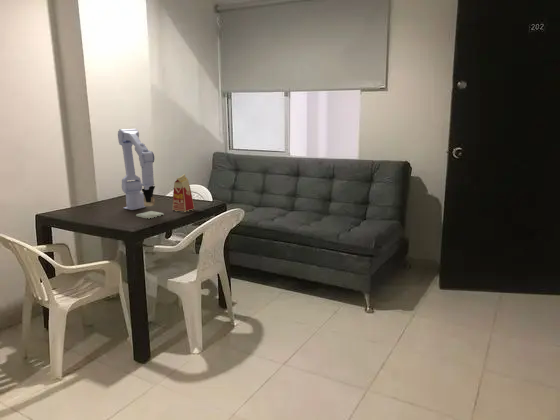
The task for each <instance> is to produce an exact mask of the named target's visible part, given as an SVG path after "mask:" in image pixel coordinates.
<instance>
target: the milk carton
mask: <svg viewBox="0 0 560 420" xmlns="http://www.w3.org/2000/svg"><path fill="white" fill-rule="evenodd" d="M172 192H173V194H172V211H173V210H175V211H174V212H177V211H184V212H183V213H187V212H186V211H188V212H190V211H189V210H192V209H195V205H194V199H193V193H192V190H191V186H190V182H189V179H188V178H187V177H186V173H184V174H182V175H181V176H179V177H177V178H176V181H174V183H173V191H172ZM192 211H193V210H192Z"/></svg>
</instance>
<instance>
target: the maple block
mask: <svg viewBox="0 0 560 420" xmlns="http://www.w3.org/2000/svg"><path fill="white" fill-rule="evenodd" d="M155 201H156V200H155V196H153V197H151V202H146V199H145V197H144V206H146V207H153V206H155V204H156V203H155Z"/></svg>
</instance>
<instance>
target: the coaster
mask: <svg viewBox="0 0 560 420" xmlns="http://www.w3.org/2000/svg"><path fill="white" fill-rule="evenodd" d="M161 215H163V216H165V213H164V212H159V211H153V210H149V211H144V212H141V213H137V214H135V217H138V218H143V219H147V218H148V219H149V220H151V219H155V218H158V217H157V216H159V217H161ZM154 217H155V218H154ZM150 218H151V219H150Z"/></svg>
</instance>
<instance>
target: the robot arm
mask: <svg viewBox="0 0 560 420" xmlns="http://www.w3.org/2000/svg"><path fill="white" fill-rule="evenodd" d="M117 140H118V145H120V146H121V148H122V154H123V162H124V167H125V176H124V177H123V178H122V179H121V190H122V192H123V193H124V194H125V202H126V206H125V207H124V206H123V209H125V210H129V211H134V210H138V209H144V208H146V207H147V206H144V198H145V199H146V202H151V197H154V191H155V187H156V186H155V181H154V180H155V178H154V177H155V176H154V162H155V153H154V152H153V150H149V149H148V147H147V146H146V144H145V143H143V142H141V140H140V132H139V130H138V129H137V128H123V129H122V128H120V129H118V131H117ZM133 146H134V151H135V153H136V154H137V155H138V161H139V165H140V168H141V178H140V177H139V176H138V175H136V171H135V170H136V169H135V162H134V156H133V155H134V153H133Z"/></svg>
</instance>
